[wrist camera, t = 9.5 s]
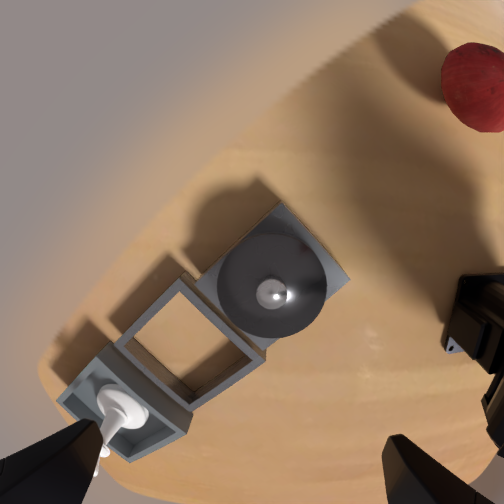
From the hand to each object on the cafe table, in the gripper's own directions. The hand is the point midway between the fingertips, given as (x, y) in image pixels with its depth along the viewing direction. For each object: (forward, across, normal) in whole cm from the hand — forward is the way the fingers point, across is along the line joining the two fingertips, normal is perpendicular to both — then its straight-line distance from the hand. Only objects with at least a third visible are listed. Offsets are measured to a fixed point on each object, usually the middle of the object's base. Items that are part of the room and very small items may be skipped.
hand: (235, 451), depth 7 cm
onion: (+13, -14, -14) cm, 24 cm away
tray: (+13, +12, +11) cm, 21 cm away
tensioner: (+13, +2, +1) cm, 13 cm away
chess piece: (+13, +12, +11) cm, 20 cm away
